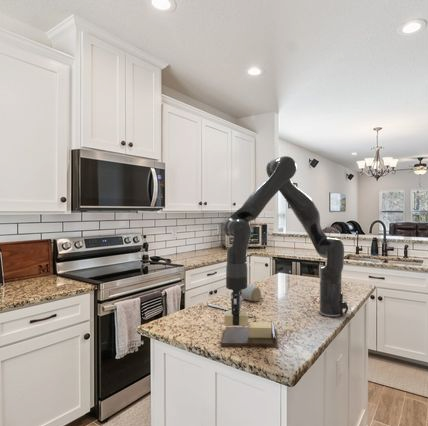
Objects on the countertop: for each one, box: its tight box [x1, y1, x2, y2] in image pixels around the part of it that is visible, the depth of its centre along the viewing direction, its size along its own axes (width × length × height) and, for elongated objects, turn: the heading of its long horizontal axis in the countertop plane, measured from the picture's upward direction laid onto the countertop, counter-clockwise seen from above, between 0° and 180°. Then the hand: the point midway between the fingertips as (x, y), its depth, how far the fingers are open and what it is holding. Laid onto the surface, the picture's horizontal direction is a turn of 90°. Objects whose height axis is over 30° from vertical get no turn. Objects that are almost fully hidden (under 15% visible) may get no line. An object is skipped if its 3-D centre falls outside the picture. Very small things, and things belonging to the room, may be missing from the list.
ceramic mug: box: [241, 283, 263, 303], centre depth 153 cm, size 11×8×8 cm
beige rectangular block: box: [248, 321, 272, 338], centre depth 107 cm, size 8×5×4 cm, turn 89°
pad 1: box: [223, 310, 249, 327], centre depth 107 cm, size 8×5×4 cm, turn 89°
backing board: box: [220, 321, 276, 348], centre depth 107 cm, size 18×14×3 cm
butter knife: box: [206, 303, 253, 317], centre depth 136 cm, size 1×27×3 cm
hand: (236, 322), depth 107 cm, fingers closed on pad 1, 5 cm apart
